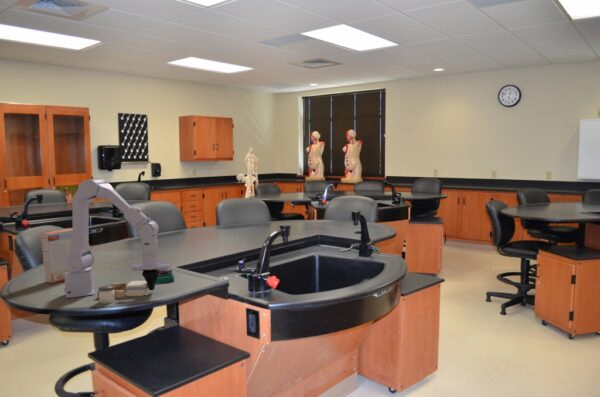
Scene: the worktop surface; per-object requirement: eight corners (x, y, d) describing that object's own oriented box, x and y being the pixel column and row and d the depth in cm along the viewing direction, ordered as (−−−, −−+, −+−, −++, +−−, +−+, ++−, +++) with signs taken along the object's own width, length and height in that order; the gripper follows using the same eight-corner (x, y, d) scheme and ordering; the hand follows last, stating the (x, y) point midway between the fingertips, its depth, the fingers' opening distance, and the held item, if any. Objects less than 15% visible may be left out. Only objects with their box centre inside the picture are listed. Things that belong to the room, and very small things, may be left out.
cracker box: (75, 274, 205) (72, 227, 203) (83, 276, 202) (80, 228, 200) (44, 282, 194) (40, 232, 192) (52, 284, 190) (48, 233, 188)
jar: (99, 304, 162) (98, 289, 162) (99, 300, 167) (98, 286, 166) (115, 302, 164) (114, 287, 164) (114, 298, 169) (113, 284, 169)
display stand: (98, 298, 170) (97, 291, 169) (111, 289, 181) (110, 283, 180) (124, 297, 169) (123, 291, 169) (135, 289, 180) (135, 282, 180)
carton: (126, 296, 171) (126, 285, 171) (132, 291, 178) (132, 280, 178) (145, 295, 172) (145, 285, 171) (151, 290, 178) (150, 280, 178)
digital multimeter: (172, 274, 204) (172, 267, 204) (174, 282, 190) (173, 275, 190) (154, 276, 202) (154, 269, 201) (155, 284, 188) (155, 277, 187)
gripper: (172, 251, 177) (174, 286, 178) (134, 251, 177) (136, 286, 179) (166, 255, 170) (168, 291, 171) (127, 255, 170) (129, 292, 172)
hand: (151, 289), depth 174 cm, fingers closed
